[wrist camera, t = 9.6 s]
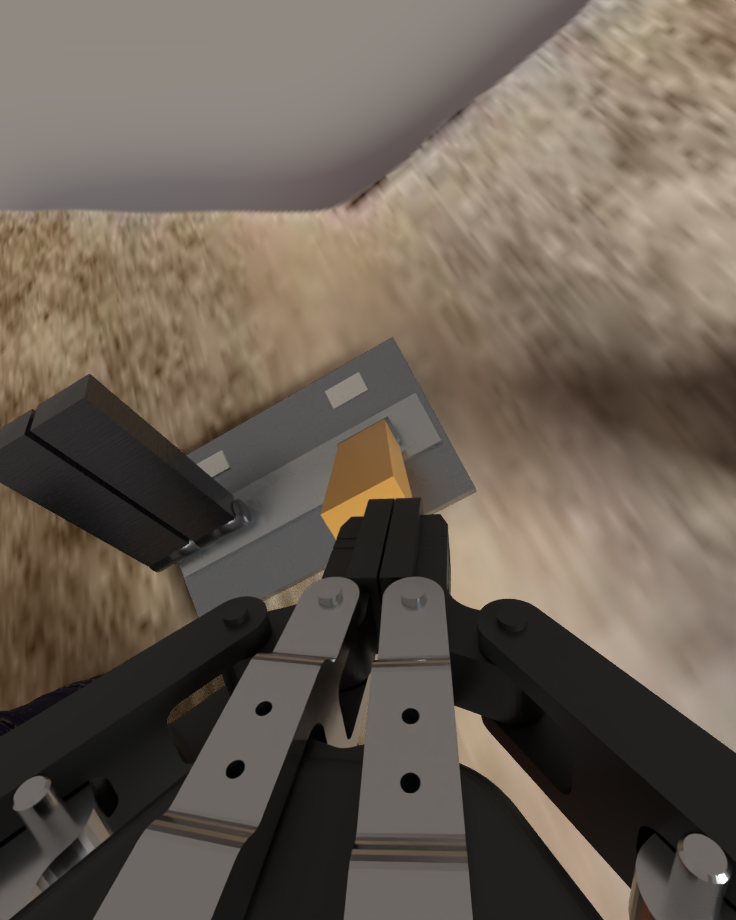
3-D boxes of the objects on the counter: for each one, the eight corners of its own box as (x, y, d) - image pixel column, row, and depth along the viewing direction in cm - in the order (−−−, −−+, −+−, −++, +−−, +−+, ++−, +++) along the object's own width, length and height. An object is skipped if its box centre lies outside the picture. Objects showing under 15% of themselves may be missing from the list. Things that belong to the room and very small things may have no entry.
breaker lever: (386, 412, 35) (397, 473, 21) (400, 439, 36) (421, 516, 22) (337, 439, 36) (316, 516, 22) (352, 465, 36) (341, 557, 22)
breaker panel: (394, 342, 41) (330, 206, 24) (476, 491, 38) (468, 454, 21) (161, 476, 44) (-40, 437, 27) (217, 624, 41) (28, 684, 24)
